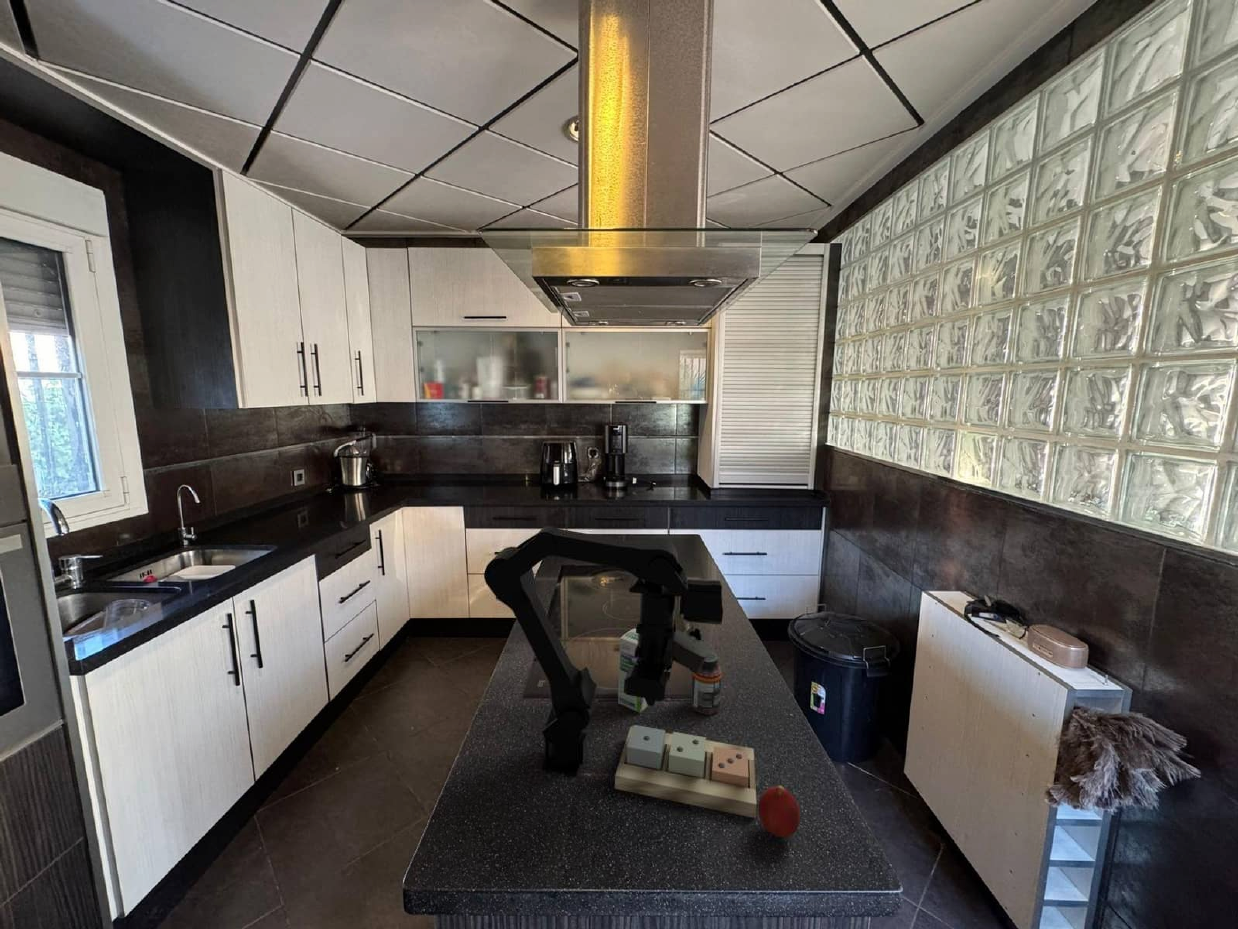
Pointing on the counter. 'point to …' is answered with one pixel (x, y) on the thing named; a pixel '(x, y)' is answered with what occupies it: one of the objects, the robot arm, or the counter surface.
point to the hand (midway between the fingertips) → (651, 704)
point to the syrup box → (626, 662)
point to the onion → (779, 811)
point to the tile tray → (689, 782)
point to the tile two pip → (687, 754)
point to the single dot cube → (646, 747)
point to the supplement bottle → (707, 686)
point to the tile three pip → (730, 767)
